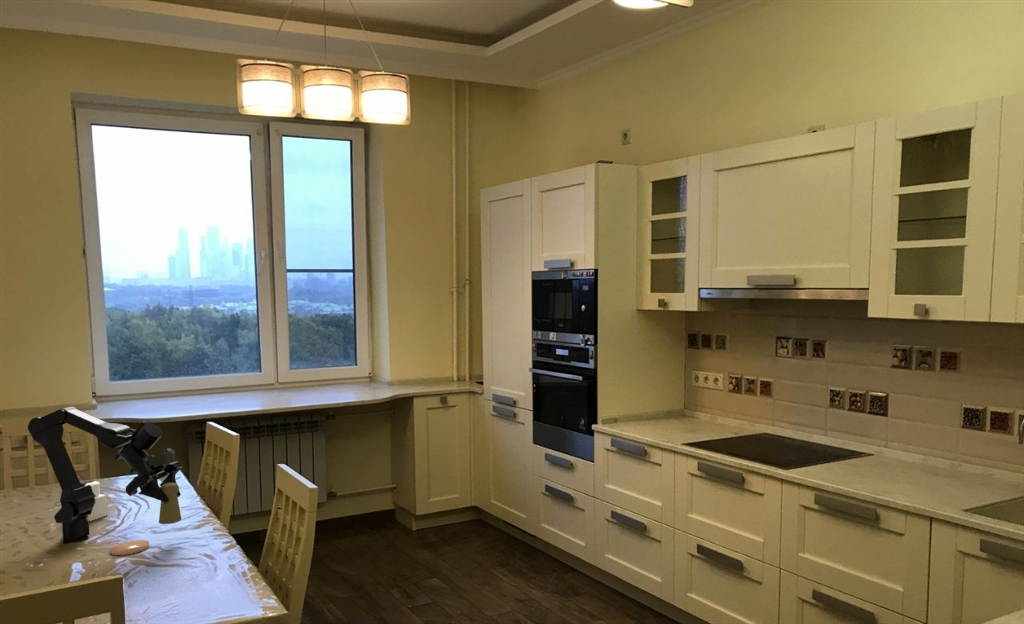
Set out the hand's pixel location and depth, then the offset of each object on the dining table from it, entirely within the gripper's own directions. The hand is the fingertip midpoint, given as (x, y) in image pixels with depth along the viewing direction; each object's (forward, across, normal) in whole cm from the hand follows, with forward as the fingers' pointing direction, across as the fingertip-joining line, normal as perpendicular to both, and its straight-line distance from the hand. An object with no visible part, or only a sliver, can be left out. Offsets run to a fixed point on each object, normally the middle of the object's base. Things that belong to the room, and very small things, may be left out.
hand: (173, 498), depth 205 cm
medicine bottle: (-21, +18, +41) cm, 50 cm away
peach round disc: (+2, -6, +17) cm, 18 cm away
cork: (+4, 0, +6) cm, 7 cm away
